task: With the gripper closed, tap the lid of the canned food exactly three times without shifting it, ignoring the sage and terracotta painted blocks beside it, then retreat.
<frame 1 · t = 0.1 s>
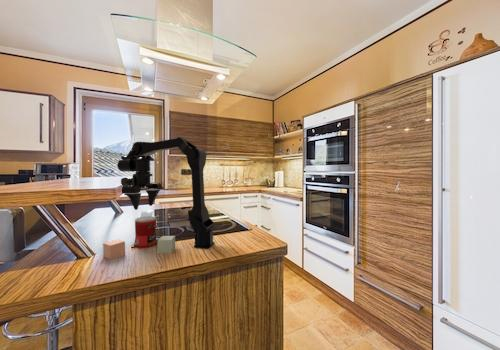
hand: (143, 207, 94), 15 cm above the table, fingers open, 9 cm apart
terracotta block: (114, 255, 79), on the table
canned food: (146, 245, 90), on the table
sage block: (166, 250, 83), on the table
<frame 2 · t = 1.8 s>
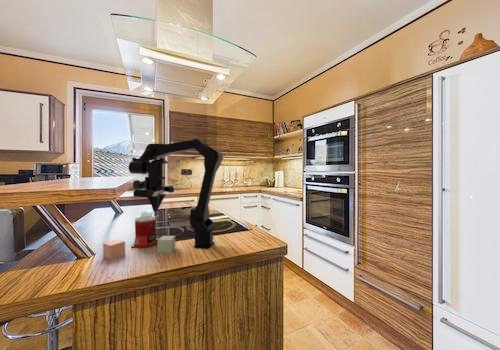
hand: (155, 211, 91), 13 cm above the table, fingers closed
nothing on the table moved.
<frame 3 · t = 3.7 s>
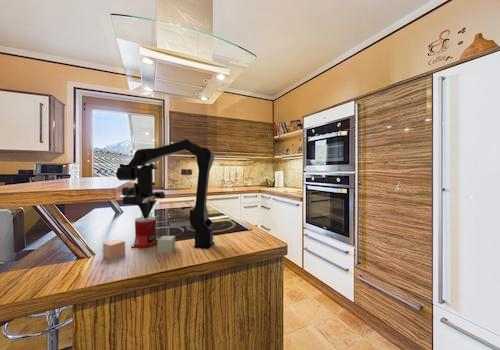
hand: (145, 218, 89), 11 cm above the table, fingers closed
nothing on the table moved.
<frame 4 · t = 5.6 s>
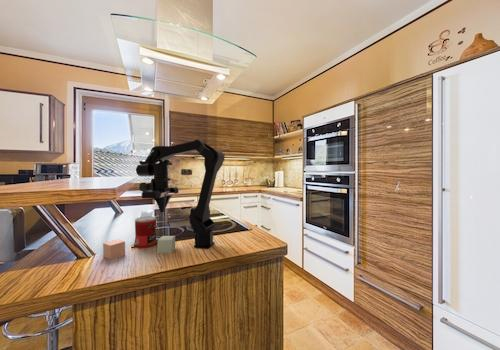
hand: (162, 212, 93), 13 cm above the table, fingers closed
nothing on the table moved.
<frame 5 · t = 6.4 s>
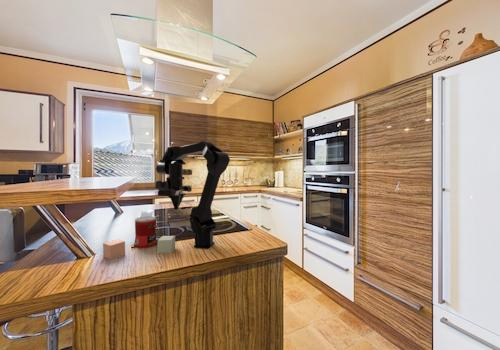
hand: (176, 209, 97), 13 cm above the table, fingers closed
nothing on the table moved.
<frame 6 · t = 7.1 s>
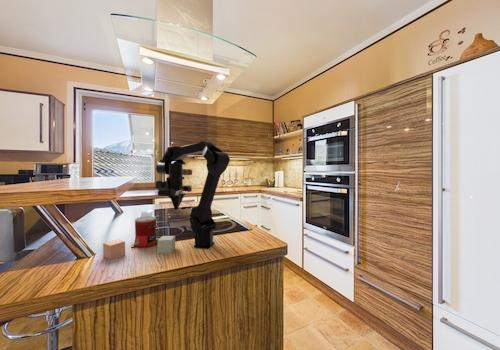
hand: (176, 209, 97), 13 cm above the table, fingers closed
nothing on the table moved.
at the end: canned food moved 0.2 cm from its start; canned food tilted 0°; sage block moved 0.1 cm from its start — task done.
